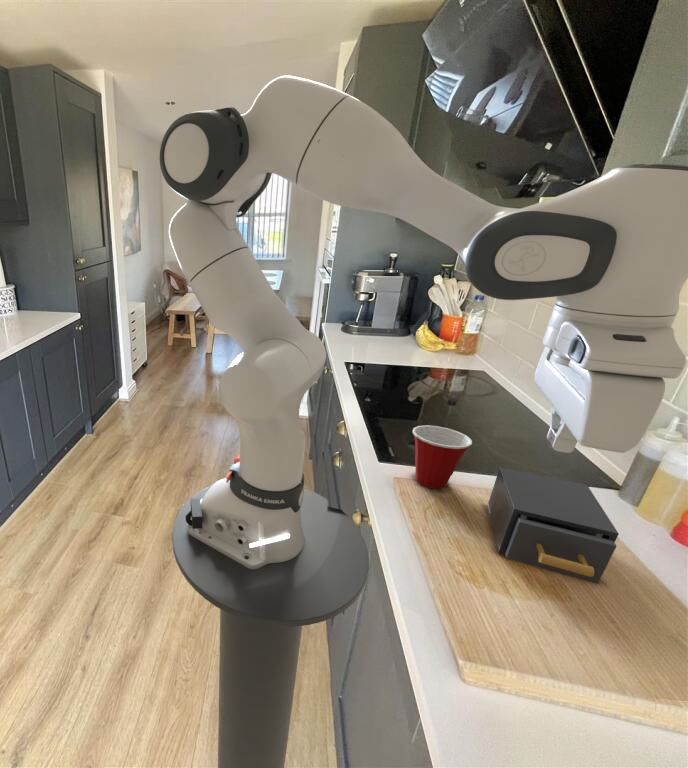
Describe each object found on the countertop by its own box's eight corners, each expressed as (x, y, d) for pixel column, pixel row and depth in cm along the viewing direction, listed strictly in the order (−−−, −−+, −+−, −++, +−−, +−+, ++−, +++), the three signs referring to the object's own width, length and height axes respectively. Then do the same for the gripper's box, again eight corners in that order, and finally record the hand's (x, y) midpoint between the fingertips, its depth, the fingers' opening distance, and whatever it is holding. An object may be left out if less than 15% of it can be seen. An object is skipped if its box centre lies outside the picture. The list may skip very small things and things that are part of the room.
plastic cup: (454, 472, 91) (466, 426, 87) (463, 500, 82) (478, 451, 78) (401, 463, 96) (410, 419, 91) (404, 488, 87) (415, 441, 82)
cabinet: (595, 580, 64) (619, 533, 60) (498, 553, 69) (514, 508, 66) (569, 527, 75) (587, 484, 71) (486, 507, 80) (499, 467, 77)
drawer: (607, 604, 59) (628, 564, 56) (510, 575, 64) (525, 537, 61) (571, 533, 72) (587, 498, 69) (494, 513, 77) (505, 480, 74)
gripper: (538, 313, 52) (508, 407, 57) (596, 358, 36) (546, 484, 41) (604, 317, 49) (566, 416, 54) (699, 367, 33) (632, 502, 38)
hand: (558, 446), depth 48 cm, fingers closed
